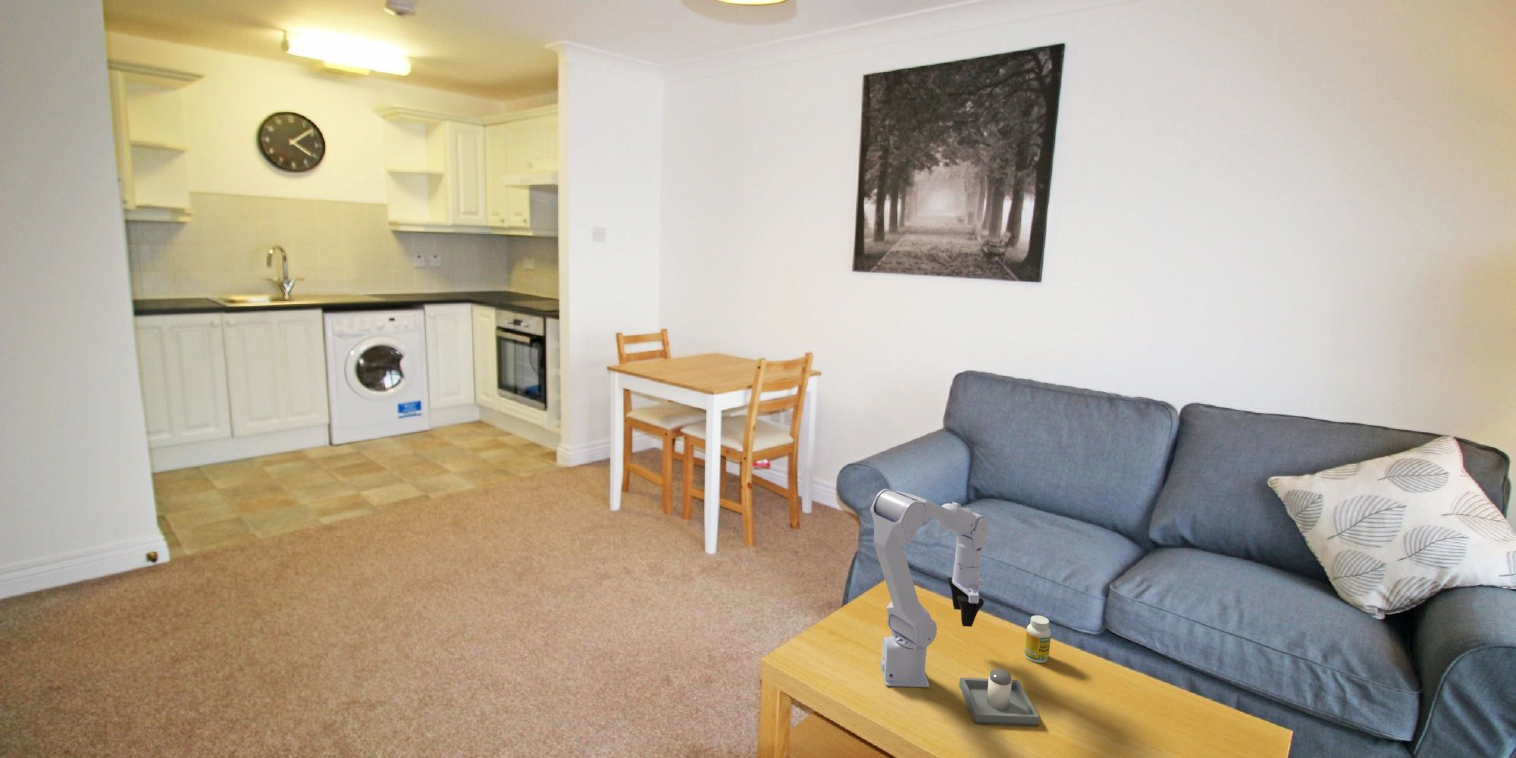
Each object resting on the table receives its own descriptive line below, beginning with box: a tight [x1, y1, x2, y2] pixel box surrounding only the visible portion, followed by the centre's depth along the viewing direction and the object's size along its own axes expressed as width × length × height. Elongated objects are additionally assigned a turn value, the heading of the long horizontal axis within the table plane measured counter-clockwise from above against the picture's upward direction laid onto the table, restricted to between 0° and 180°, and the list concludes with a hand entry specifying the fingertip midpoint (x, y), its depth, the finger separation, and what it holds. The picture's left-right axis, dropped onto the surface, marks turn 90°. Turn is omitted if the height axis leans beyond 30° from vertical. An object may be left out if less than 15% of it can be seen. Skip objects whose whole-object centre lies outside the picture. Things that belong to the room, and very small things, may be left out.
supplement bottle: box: [1023, 614, 1052, 664], centre depth 169 cm, size 5×5×10 cm
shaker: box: [987, 668, 1013, 710], centre depth 150 cm, size 4×4×6 cm
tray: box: [958, 677, 1040, 727], centre depth 151 cm, size 13×13×2 cm
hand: (962, 617), depth 168 cm, fingers open, 7 cm apart
